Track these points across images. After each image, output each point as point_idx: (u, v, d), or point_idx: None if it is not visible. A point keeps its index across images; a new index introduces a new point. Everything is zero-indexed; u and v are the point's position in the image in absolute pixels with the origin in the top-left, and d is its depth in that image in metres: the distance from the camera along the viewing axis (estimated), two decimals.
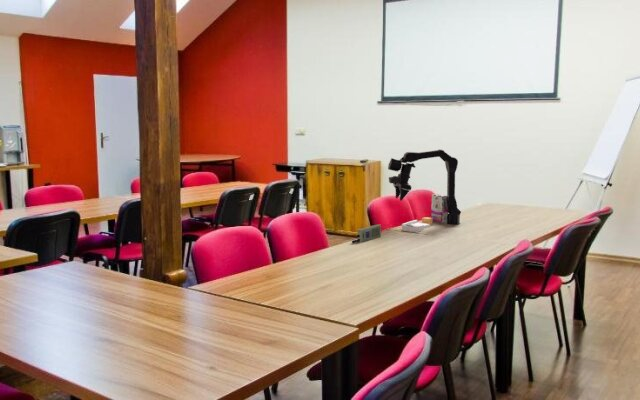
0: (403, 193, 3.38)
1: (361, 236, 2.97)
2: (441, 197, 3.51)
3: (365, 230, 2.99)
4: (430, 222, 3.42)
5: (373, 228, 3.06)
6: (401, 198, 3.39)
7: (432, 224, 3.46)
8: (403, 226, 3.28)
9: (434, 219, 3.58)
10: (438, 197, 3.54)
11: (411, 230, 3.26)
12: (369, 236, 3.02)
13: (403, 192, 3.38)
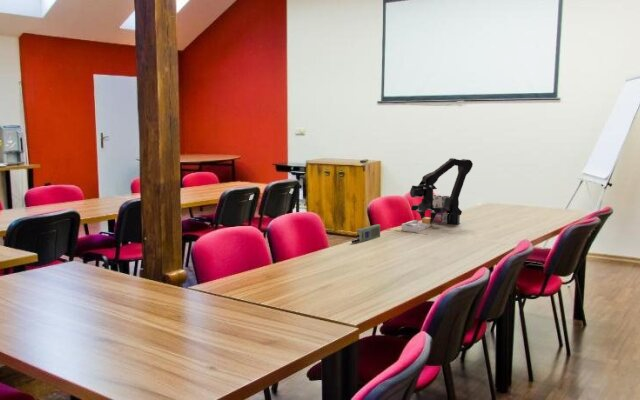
0: (433, 216, 3.42)
1: (361, 236, 2.97)
2: (441, 197, 3.51)
3: (364, 230, 3.00)
4: None
5: (372, 228, 3.06)
6: (432, 221, 3.42)
7: (432, 224, 3.46)
8: (403, 226, 3.28)
9: (434, 219, 3.58)
10: (438, 197, 3.54)
11: (411, 230, 3.26)
12: (368, 236, 3.03)
13: (433, 215, 3.42)
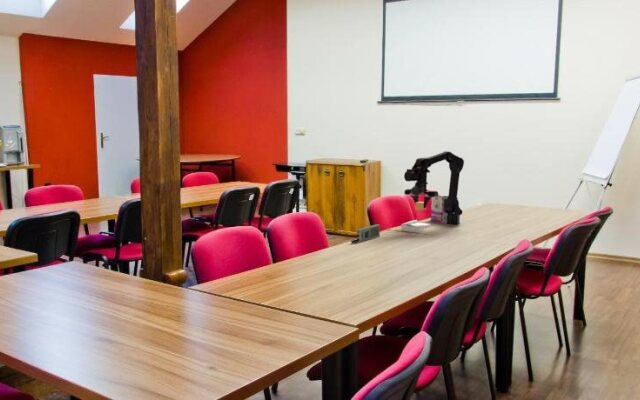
0: (426, 200, 3.33)
1: (360, 236, 2.97)
2: (441, 197, 3.51)
3: (364, 230, 3.00)
4: None
5: (372, 228, 3.06)
6: (425, 206, 3.34)
7: (432, 224, 3.46)
8: (403, 226, 3.28)
9: (434, 219, 3.58)
10: (438, 197, 3.54)
11: (411, 230, 3.26)
12: (368, 236, 3.03)
13: (426, 199, 3.33)
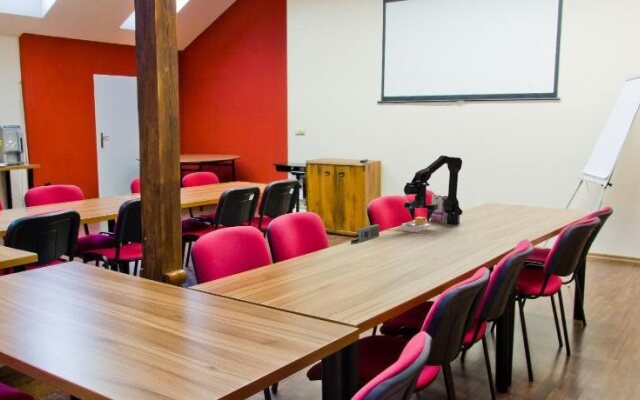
0: (430, 214, 3.33)
1: (360, 236, 2.97)
2: (441, 197, 3.51)
3: (364, 230, 3.00)
4: (423, 222, 3.35)
5: (371, 228, 3.06)
6: (428, 219, 3.33)
7: (432, 224, 3.46)
8: (403, 226, 3.28)
9: (434, 219, 3.58)
10: (438, 197, 3.54)
11: (411, 230, 3.26)
12: (368, 236, 3.03)
13: (430, 213, 3.33)
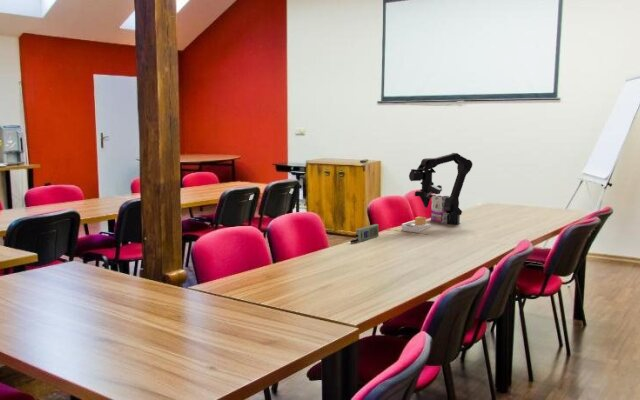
0: None
1: (359, 236, 2.98)
2: (441, 197, 3.51)
3: (363, 230, 3.00)
4: (423, 222, 3.35)
5: (371, 228, 3.06)
6: None
7: (432, 224, 3.46)
8: (403, 226, 3.28)
9: (434, 219, 3.58)
10: (438, 197, 3.54)
11: (411, 230, 3.26)
12: (367, 236, 3.03)
13: None
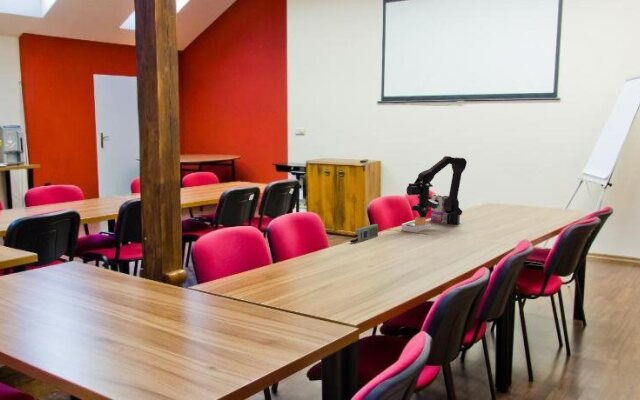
0: None
1: (359, 236, 2.98)
2: (441, 197, 3.51)
3: (363, 230, 3.00)
4: (423, 222, 3.35)
5: (371, 228, 3.06)
6: None
7: (432, 224, 3.46)
8: (403, 226, 3.28)
9: (434, 219, 3.58)
10: (438, 197, 3.54)
11: (411, 230, 3.26)
12: (367, 236, 3.03)
13: None
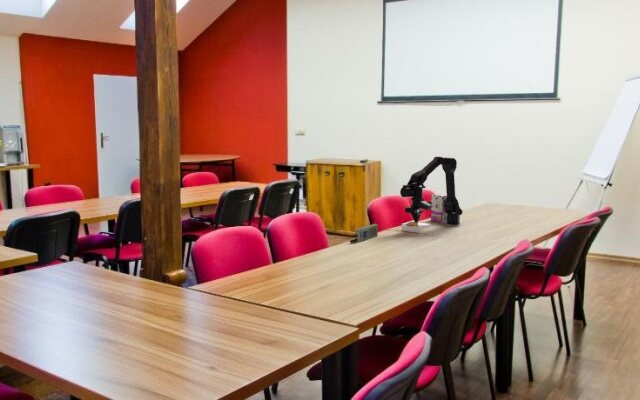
0: None
1: (359, 236, 2.98)
2: (441, 197, 3.51)
3: (363, 230, 3.00)
4: None
5: (370, 228, 3.07)
6: None
7: (432, 224, 3.46)
8: (403, 226, 3.28)
9: (434, 219, 3.58)
10: (438, 197, 3.54)
11: (411, 230, 3.26)
12: (366, 236, 3.03)
13: None
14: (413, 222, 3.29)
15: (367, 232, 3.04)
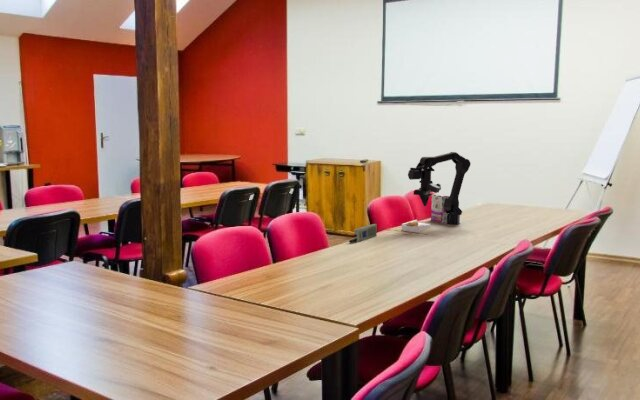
0: None
1: (358, 236, 2.98)
2: (441, 197, 3.51)
3: (362, 230, 3.00)
4: None
5: (369, 228, 3.07)
6: None
7: (432, 224, 3.46)
8: (403, 226, 3.28)
9: (434, 219, 3.58)
10: (438, 197, 3.54)
11: (411, 230, 3.26)
12: (366, 236, 3.04)
13: None
14: (413, 222, 3.29)
15: (366, 232, 3.04)
